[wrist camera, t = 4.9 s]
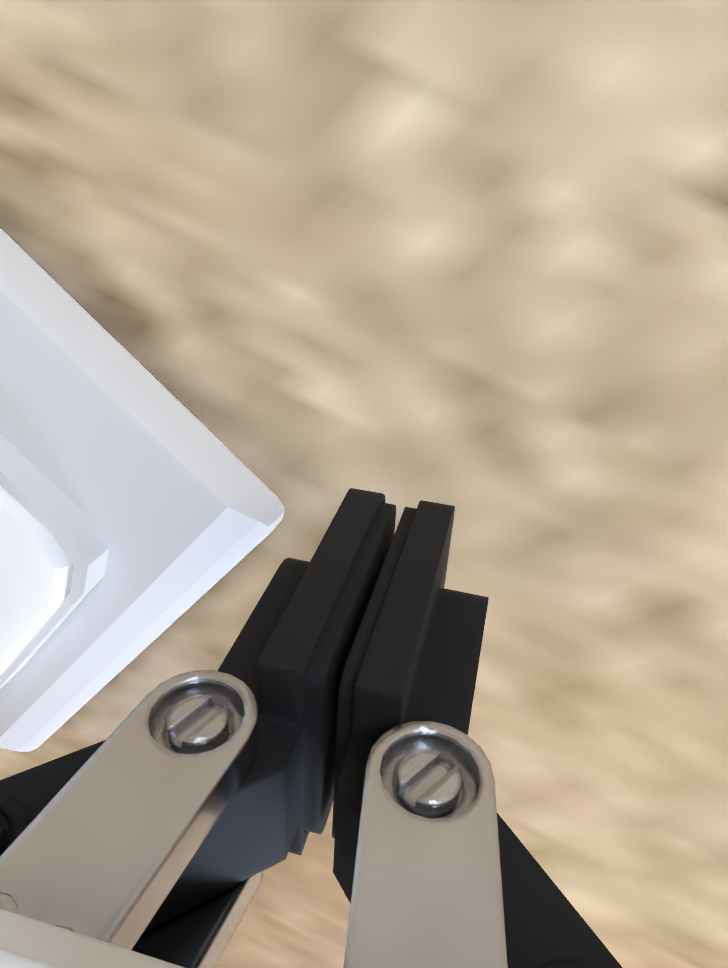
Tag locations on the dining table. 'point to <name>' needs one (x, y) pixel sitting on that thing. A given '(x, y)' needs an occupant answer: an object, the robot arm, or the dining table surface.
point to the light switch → (98, 505)
